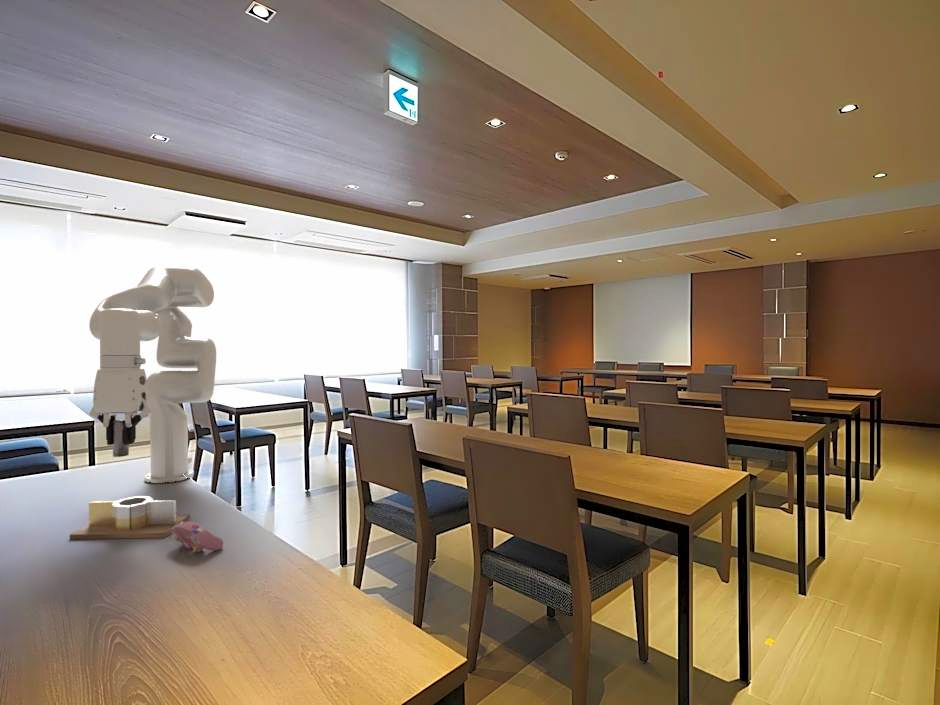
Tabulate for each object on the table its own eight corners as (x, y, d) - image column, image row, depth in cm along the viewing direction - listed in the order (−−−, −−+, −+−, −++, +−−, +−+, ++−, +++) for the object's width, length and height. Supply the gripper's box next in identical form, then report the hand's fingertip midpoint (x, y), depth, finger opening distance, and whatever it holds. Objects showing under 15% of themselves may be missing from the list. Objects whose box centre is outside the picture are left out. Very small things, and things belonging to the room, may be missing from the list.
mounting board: (104, 519, 116) (104, 515, 116) (190, 518, 117) (190, 514, 117) (69, 539, 105) (69, 534, 105) (165, 537, 106) (165, 532, 106)
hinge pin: (118, 454, 117) (118, 419, 117) (131, 454, 117) (131, 419, 117) (109, 456, 114) (109, 421, 114) (123, 456, 114) (123, 421, 114)
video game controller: (176, 553, 103) (161, 527, 100) (195, 536, 106) (181, 511, 103) (208, 563, 98) (193, 537, 95) (227, 545, 102) (212, 519, 99)
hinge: (101, 518, 114) (101, 496, 114) (183, 517, 115) (182, 495, 115) (79, 531, 107) (78, 507, 107) (166, 529, 108) (166, 506, 108)
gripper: (166, 362, 119) (166, 440, 119) (94, 362, 118) (95, 440, 119) (147, 364, 112) (148, 447, 112) (71, 363, 111) (71, 447, 111)
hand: (121, 443), depth 115 cm, fingers closed on hinge pin, 2 cm apart
